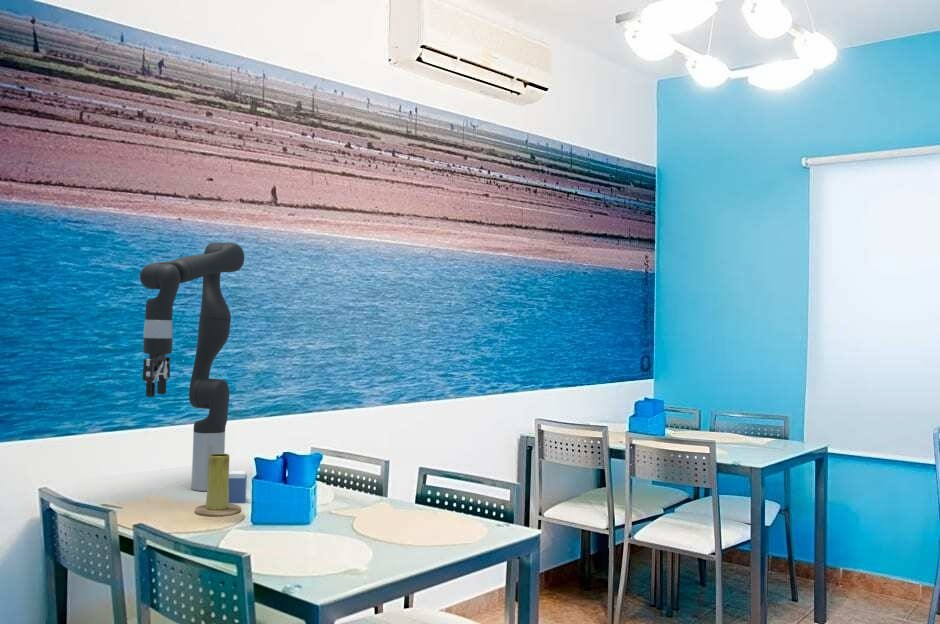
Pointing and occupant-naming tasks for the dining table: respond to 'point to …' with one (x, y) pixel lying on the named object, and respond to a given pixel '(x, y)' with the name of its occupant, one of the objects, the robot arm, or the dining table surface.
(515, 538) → the dining table surface
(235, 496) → the slate blue block
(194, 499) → the dining table surface
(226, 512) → the disc
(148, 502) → the dining table surface
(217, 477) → the vase
